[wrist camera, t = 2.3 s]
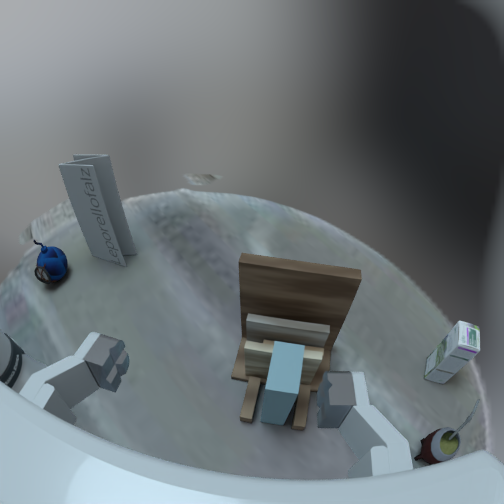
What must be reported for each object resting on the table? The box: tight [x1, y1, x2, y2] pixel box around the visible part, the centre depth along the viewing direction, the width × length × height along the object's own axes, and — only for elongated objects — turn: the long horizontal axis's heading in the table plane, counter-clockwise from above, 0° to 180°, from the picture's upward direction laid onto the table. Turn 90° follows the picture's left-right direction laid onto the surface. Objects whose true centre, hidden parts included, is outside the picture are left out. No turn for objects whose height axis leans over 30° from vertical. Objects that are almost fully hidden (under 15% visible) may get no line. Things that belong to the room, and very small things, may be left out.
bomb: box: [34, 240, 67, 284], centre depth 62 cm, size 10×11×15 cm
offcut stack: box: [244, 313, 330, 385], centre depth 45 cm, size 5×13×13 cm, turn 78°
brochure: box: [59, 155, 137, 267], centre depth 64 cm, size 14×6×30 cm, turn 72°
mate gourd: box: [414, 399, 480, 464], centre depth 30 cm, size 8×8×15 cm
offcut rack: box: [231, 253, 362, 430], centre depth 42 cm, size 19×18×22 cm
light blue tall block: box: [261, 341, 305, 425], centre depth 39 cm, size 7×4×18 cm, turn 168°
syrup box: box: [424, 321, 480, 384], centre depth 42 cm, size 6×6×14 cm
